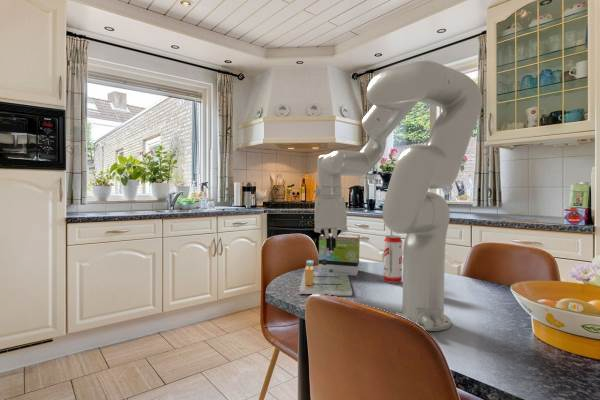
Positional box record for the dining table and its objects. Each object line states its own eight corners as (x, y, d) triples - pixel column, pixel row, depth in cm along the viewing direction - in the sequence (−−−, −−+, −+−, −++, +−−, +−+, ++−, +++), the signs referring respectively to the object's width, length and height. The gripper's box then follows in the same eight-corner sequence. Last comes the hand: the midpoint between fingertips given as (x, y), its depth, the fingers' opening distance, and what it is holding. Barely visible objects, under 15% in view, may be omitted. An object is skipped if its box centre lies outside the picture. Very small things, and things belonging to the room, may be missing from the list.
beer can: (399, 279, 124) (400, 235, 124) (403, 284, 118) (404, 237, 117) (382, 279, 125) (382, 235, 124) (384, 283, 118) (385, 237, 118)
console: (352, 296, 104) (352, 290, 104) (299, 294, 105) (299, 289, 105) (346, 276, 128) (346, 272, 128) (303, 275, 129) (303, 271, 129)
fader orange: (312, 285, 110) (313, 269, 110) (305, 284, 110) (305, 269, 110) (313, 281, 114) (313, 266, 114) (305, 281, 114) (305, 266, 114)
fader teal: (313, 277, 120) (313, 262, 120) (306, 277, 120) (306, 262, 120) (313, 274, 124) (313, 260, 124) (306, 274, 124) (306, 260, 124)
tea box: (318, 273, 132) (318, 235, 132) (322, 268, 142) (322, 232, 142) (357, 276, 129) (358, 236, 128) (359, 270, 138) (360, 233, 138)
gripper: (305, 193, 108) (307, 252, 107) (354, 192, 106) (355, 251, 106) (307, 194, 115) (308, 249, 115) (352, 192, 114) (353, 248, 114)
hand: (331, 250), depth 111 cm, fingers closed
